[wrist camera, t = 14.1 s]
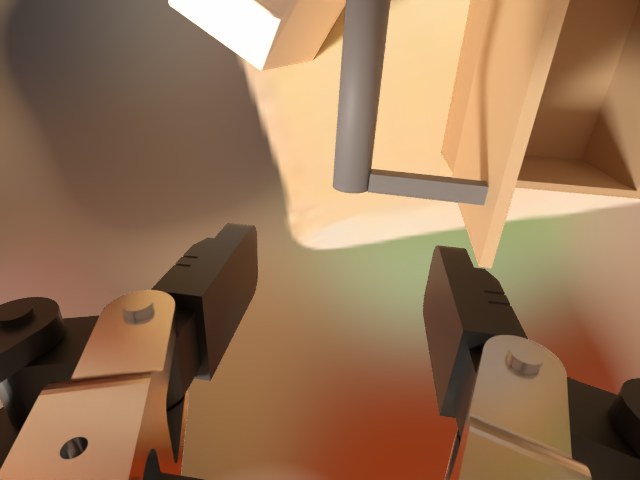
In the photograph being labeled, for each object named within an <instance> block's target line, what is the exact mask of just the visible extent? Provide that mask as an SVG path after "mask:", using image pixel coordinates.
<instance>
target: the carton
mask: <svg viewBox="0 0 640 480" xmlns="http://www.w3.org/2000/svg"><path fill="white" fill-rule="evenodd" d="M489 1H490V0H471V2H470V7H469V12H468V17H467V22H466V27H465V33H464V38H463V43H462V48H461V53H460V58H459V63H458V69H457V74H456V79H455V84H454V89H453V94H452V100H451V105H450V110H449V115H448V120H447V125H446V131H445V136H444V141H443V146H442V151H441V153H442V155H443V157H444V158H445V160H446V162H447V164H448V165H449V167H450V169H451V170H452V172H453V170H454V166H455V161H456V156H457V152H458V147H459V142H460V138H461V133H462V128H463V123H464V119H465V114H466V109H467V105H468V100H469V95H470V90H471V86H472V81H473V76H474V72H475V67H476V62H477V58H478V53H479V48H480V43H481V39H482V34H483V29H484V25H485V20H486V15H487V11H488V6H489ZM515 188H526V189H537V190H548V191H559V192H570V193H582V194H593V195H604V196H615V197H626V198H637V199H640V0H570V1H569V4H568V8H567V11H566V14H565V18H564V21H563V25H562V28H561V31H560V35H559V38H558V42H557V45H556V49H555V52H554V55H553V59H552V62H551V66H550V69H549V73H548V76H547V79H546V83H545V86H544V90H543V93H542V97H541V100H540V103H539V107H538V110H537V114H536V117H535V121H534V124H533V127H532V131H531V134H530V138H529V141H528V145H527V148H526V151H525V155H524V158H523V162H522V165H521V169H520V172H519V175H518V179H517V182H516V186H515Z"/></svg>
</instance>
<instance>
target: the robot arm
mask: <svg viewBox="0 0 640 480" xmlns="http://www.w3.org/2000/svg"><path fill="white" fill-rule="evenodd" d="M257 264H258V262H257V232H256V228H255V226H252V225H243V224H233V223H227V224H226V225H225V227H224V228H223V229H222V230H221V231H220V233H219V234H218V235H217V236H216V237H215V238H206V239H204V240H203V241H201V242H198V243H196V244H194V245H193V246H192V247H191V248H190V249H189V250H188V251H187V252H186V253H185V254H184V256H183V257H181V258H180V259H179V260H178V262H177V263H176V265H175V266H173V267H172V268H171V269H170V270H169V271H168V272H167V273H166V274H165V275H164V276H163V277H162V278H161V280H160V281H159V282H158V283H157V284H156V285H155V286H154V287H153V288H152V289H151V290H141V291H135V292H131V293H127V294H125V295H122V296H120V297H118V298H116V299H114V300H113V301H111V302H110V303H109V304H107V305H106V306H105V307H104V309H103V310H102V312H101V314H100V316H89V317H78V318H64V319H63V318H62V315H61V312H60V309H59V306H58V304H57V303H56V302H55V301H54V300H52V299H49V298H43V297H31V298H23V299H18V300H14V301H10V302H7V303H4V304H2V305H0V400H1V402H2V404H3V406H4V407H2V408H1V409H0V480H203V479H197V478H192V477H185V476H181V471H182V460H183V451H184V440H185V431H186V420H187V411H188V391H187V390H188V388H189V386H190V384H191V383H192V381H193V379H194V378H196V379H203V380H209V381H211V379H212V377H213V375H214V373H215V371H216V369H217V367H218V365H219V363H220V361H221V359H222V357H223V355H224V353H225V351H226V349H227V347H228V345H229V343H230V341H231V339H232V337H233V335H234V333H235V331H236V329H237V327H238V325H239V324H240V322H241V320H242V317H243V316H244V314H245V312H246V310H247V308H248V306H249V303H250V302H251V300H252V298H253V296H254V293H255V290H256V286H257V279H258V265H257ZM423 304H424V305H423V316H424V323H425V329H426V335H427V341H428V347H429V354H430V359H431V366H432V372H433V378H434V384H435V390H436V396H437V403H438V408H439V415H440V416H446V417H453V418H456V421H457V426H458V430H457V433H456V436H455V440H454V443H453V447H452V451H451V455H450V460H449V464H448V468H447V472H446V476H445V480H640V378H637V379H631V380H628V381H626V382H625V383H624V384H623V386H622V387H621V389H620V391H619V393H618V395H616V394H613V393H610V392H607V391H604V390H601V389H599V388H595V387H593V386H590V385H587V384H584V383H581V382H578V381H576V380H573V379H571V378H569V377H567V375H566V370H565V368H564V366H563V364H562V363H561V361H560V360H559V359H558V358H557V357H556V356H555V355H554V354H553V353H551V352H550V351H549V350H548V349H546V348H545V347H543V346H541V345H540V344H538V343H536V342H533V341H531V340H528V338H527V336H526V334H525V332H524V330H523V328H522V327H521V325H520V322H519V320H518V319H517V316H516V314H515V313H514V311H513V309H512V307H511V306H510V303H509V301H508V299H507V297H506V295H504V291H503V289H502V287H501V285H500V283H499V281H498V280H497V279H496V278H495V277H494V276H492V275H491V274H490V273H489V272H488V271H486V270H485V269H482V268H474V267H473V264H472V262H471V260H470V257H469V255H468V253H467V250H466V249H464V248H456V247H446V246H436V247H435V249H434V252H433V257H432V262H431V266H430V271H429V276H428V281H427V286H426V290H425V295H424V303H423Z"/></svg>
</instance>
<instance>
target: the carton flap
mask: <svg viewBox="0 0 640 480" xmlns="http://www.w3.org/2000/svg"><path fill="white" fill-rule="evenodd" d="M569 1H570V0H490V1H489V6H488V11H487V15H486V20H485V25H484V29H483V34H482V39H481V43H480V48H479V53H478V58H477V62H476V67H475V72H474V76H473V81H472V86H471V90H470V95H469V100H468V105H467V109H466V114H465V119H464V123H463V128H462V133H461V138H460V142H459V147H458V152H457V156H456V161H455V166H454V170H453V175H452V178H451V177H442V176H433V175H423V174H414V173H405V172H395V171H386V170H376V169H371V165H372V156H373V148H374V139H375V130H376V121H377V113H378V104H379V95H380V86H381V78H382V69H383V60H384V51H385V43H386V34H387V25H388V16H389V8H390V0H346V4H345V19H344V33H343V47H342V62H341V76H340V90H339V104H338V119H337V133H336V147H335V161H334V176H333V188H334V189H336V190H338V191H341V192H345V193H363V192H366V191H368V192H372V193H380V194H389V195H398V196H406V197H415V198H423V199H432V200H441V201H449V202H458V205H459V208H460V211H461V214H462V217H463V220H464V223H465V226H466V229H467V231H468V235H469V238H470V241H471V244H472V247H473V250H474V253H475V256H476V259H477V262H478V265H479V266H480V267H487V268H492V264H493V261H494V257H495V254H496V251H497V247H498V244H499V240H500V237H501V233H502V230H503V227H504V223H505V220H506V216H507V213H508V210H509V206H510V203H511V199H512V196H513V192H514V189H515V186H516V182H517V179H518V175H519V172H520V169H521V165H522V162H523V158H524V155H525V151H526V148H527V145H528V141H529V138H530V134H531V131H532V127H533V124H534V121H535V117H536V114H537V110H538V107H539V103H540V100H541V97H542V93H543V90H544V86H545V83H546V79H547V76H548V73H549V69H550V66H551V62H552V59H553V55H554V52H555V49H556V45H557V42H558V38H559V35H560V31H561V28H562V25H563V21H564V18H565V14H566V11H567V8H568V4H569Z"/></svg>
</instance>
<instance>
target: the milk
mask: <svg viewBox="0 0 640 480" xmlns="http://www.w3.org/2000/svg"><path fill="white" fill-rule="evenodd" d="M345 4H346V0H169V5H170V6H171V7H173V8H174V9H175V10H177V11H178V12H180V13H181V14H182V15H184V16H185V17H187V18H188V19H189V20H191V21H192V22H194V23H195V24H196V25H198V26H199V27H201V28H202V29H203V30H205V31H206V32H207V33H209V34H210V35H212V36H213V37H214V38H216V39H217V40H219V41H220V42H222V43H223V44H224V45H226V46H227V47H228V48H230V49H231V50H233V51H234V52H235V53H237V54H238V55H240V56H241V57H242V58H244V59H245V60H247V61H248V62H249V63H251V64H252V65H253V66H255V67H256V68H258V69H259V70H261V71H263V70H268V69H273V68H278V67H283V66H288V65H293V64H298V63H303V62H308V61H312V60H313V59H314V57H315V56H316V54H317V52H318V51H319V49H320V47H321V46H322V44H323V42H324V40H325V39H326V37H327V35H328V34H329V32H330V30H331V29H332V27H333V25H334V24H335V22H336V20H337V18H338V17H339V15H340V13H341V12H342V10H343V8H344V7H345Z"/></svg>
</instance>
